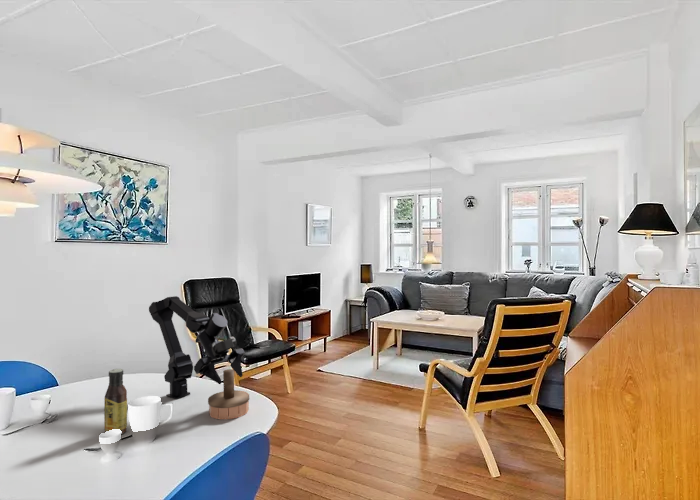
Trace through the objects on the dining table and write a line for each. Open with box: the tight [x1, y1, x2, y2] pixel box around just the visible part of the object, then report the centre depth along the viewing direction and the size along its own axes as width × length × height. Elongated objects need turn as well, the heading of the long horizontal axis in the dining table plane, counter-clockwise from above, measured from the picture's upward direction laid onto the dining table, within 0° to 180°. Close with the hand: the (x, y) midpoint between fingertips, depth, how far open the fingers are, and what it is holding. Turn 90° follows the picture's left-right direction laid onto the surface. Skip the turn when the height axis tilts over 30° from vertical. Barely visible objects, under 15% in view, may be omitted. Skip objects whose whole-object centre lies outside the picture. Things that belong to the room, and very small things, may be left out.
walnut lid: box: [207, 368, 250, 408], centre depth 150 cm, size 14×14×10 cm
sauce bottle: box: [103, 368, 128, 435], centre depth 134 cm, size 7×6×20 cm
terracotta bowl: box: [208, 400, 250, 420], centre depth 150 cm, size 13×13×4 cm
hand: (231, 379), depth 150 cm, fingers open, 9 cm apart
